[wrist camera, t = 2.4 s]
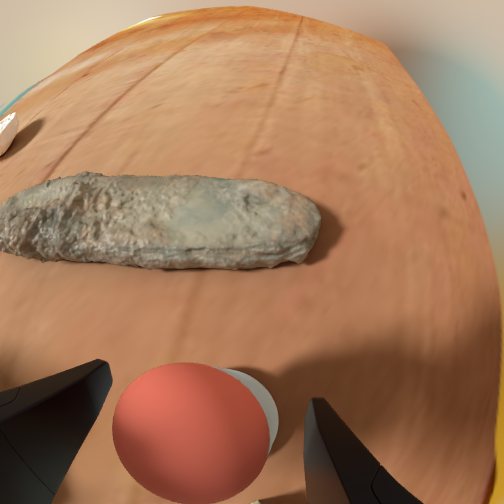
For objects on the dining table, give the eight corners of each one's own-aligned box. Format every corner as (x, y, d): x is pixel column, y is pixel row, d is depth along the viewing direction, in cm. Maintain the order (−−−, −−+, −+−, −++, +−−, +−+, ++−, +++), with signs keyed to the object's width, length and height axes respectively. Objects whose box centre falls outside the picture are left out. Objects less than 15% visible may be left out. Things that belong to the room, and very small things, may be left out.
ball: (289, 451, 8) (314, 483, 4) (181, 496, 7) (136, 541, 3) (229, 352, 10) (211, 315, 6) (128, 397, 9) (58, 384, 5)
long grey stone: (316, 304, 20) (308, 205, 26) (338, 267, 16) (320, 161, 21) (-14, 263, 20) (21, 198, 25) (-39, 235, 15) (4, 168, 21)
